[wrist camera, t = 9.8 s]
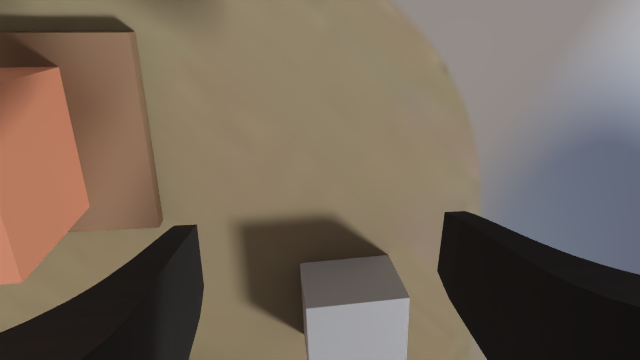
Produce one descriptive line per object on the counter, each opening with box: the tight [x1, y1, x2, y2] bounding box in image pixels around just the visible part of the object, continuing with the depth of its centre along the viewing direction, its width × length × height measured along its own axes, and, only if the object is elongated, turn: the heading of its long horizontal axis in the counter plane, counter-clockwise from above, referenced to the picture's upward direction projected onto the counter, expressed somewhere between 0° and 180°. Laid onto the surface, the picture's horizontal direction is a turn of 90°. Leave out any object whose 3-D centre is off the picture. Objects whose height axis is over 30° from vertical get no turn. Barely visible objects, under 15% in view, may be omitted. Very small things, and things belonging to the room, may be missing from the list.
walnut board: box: [0, 32, 163, 232], centre depth 19 cm, size 10×9×1 cm
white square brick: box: [300, 255, 410, 360], centre depth 23 cm, size 5×5×4 cm
